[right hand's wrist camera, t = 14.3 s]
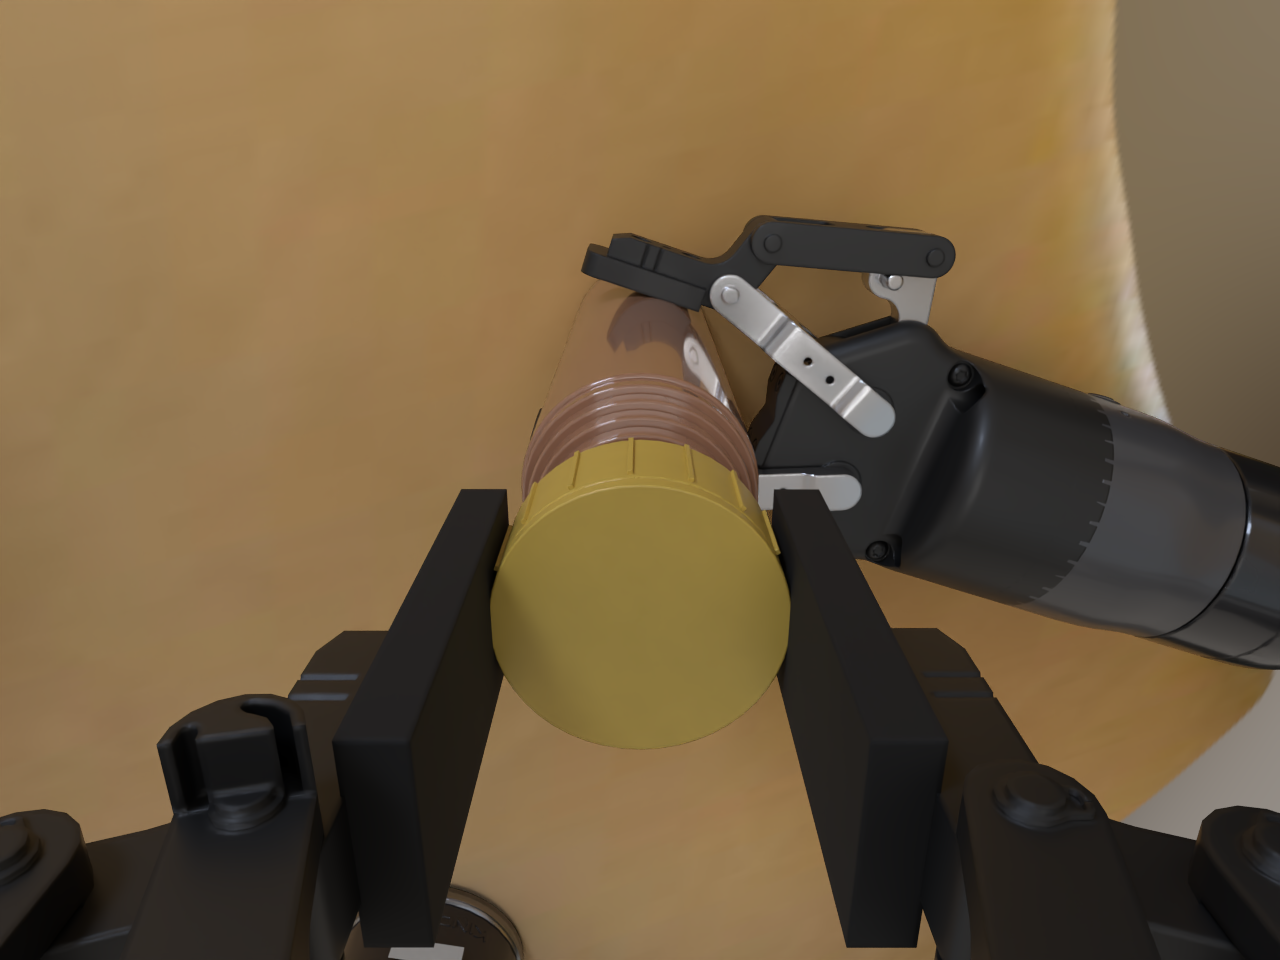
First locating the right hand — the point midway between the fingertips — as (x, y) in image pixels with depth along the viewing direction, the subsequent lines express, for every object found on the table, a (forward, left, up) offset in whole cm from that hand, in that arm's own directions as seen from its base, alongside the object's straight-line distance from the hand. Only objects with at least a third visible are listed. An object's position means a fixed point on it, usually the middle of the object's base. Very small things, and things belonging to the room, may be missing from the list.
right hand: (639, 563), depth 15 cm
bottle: (0, 0, -20) cm, 20 cm away
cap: (0, 0, +2) cm, 2 cm away
